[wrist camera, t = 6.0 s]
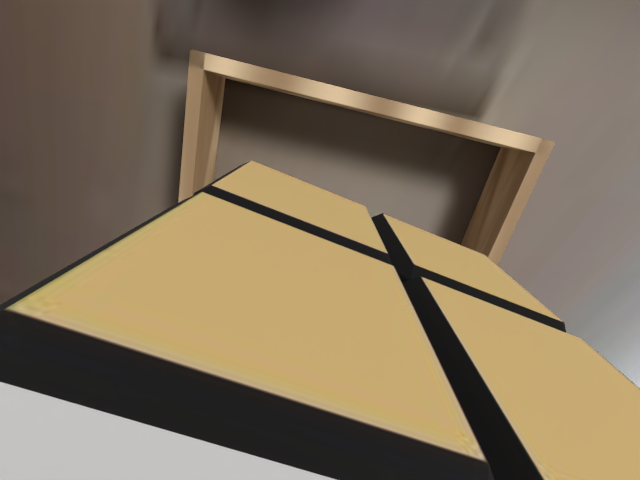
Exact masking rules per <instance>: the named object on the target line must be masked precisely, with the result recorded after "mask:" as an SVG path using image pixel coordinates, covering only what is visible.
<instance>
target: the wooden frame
mask: <svg viewBox="0 0 640 480" xmlns="http://www.w3.org/2000/svg"><path fill="white" fill-rule="evenodd" d="M226 78H227V79H231V80H235V81H239V82H243V83H247V84H251V85H255V86H259V87H263V88H267V89H271V90H275V91H279V92H283V93H287V94H291V95H295V96H299V97H303V98H307V99H311V100H315V101H319V102H323V103H327V104H331V105H335V106H339V107H343V108H347V109H351V110H355V111H359V112H363V113H367V114H371V115H375V116H378V117H382V118H386V119H390V120H394V121H398V122H402V123H406V124H410V125H414V126H418V127H422V128H426V129H430V130H434V131H438V132H442V133H446V134H450V135H454V136H458V137H462V138H466V139H470V140H474V141H478V142H482V143H486V144H490V145H494V146H498V147H501V148H500V151H499V153H498V155H497V158H496V160H495V163H494V165H493V167H492V170H491V172H490V175H489V177H488V179H487V182H486V184H485V187H484V189H483V191H482V194H481V196H480V199H479V201H478V204H477V206H476V208H475V211H474V213H473V216H472V218H471V220H470V223H469V225H468V228H467V230H466V232H465V235H464V237H463V240H462V242H461V244H460V245H462V246H464V247H467V248H469V249H472V250H474V251H477V252H479V253H481V254H484V255H486V256H487V257H488V258H489V259H490V260H491V261H493V262H494V263H495V264H496V265H498V263H499V261H500V258H501V256H502V254H503V252H504V250H505V248H506V246H507V244H508V241H509V239H510V237H511V235H512V233H513V231H514V229H515V227H516V224H517V222H518V220H519V218H520V216H521V214H522V212H523V210H524V207H525V205H526V203H527V201H528V199H529V197H530V195H531V192H532V190H533V188H534V186H535V184H536V182H537V180H538V178H539V175H540V173H541V171H542V169H543V167H544V165H545V163H546V161H547V158H548V156H549V154H550V152H551V150H552V148H553V146H554V144H555V142H554V141H550V140H546V139H542V138H538V137H534V136H530V135H526V134H522V133H518V132H514V131H510V130H506V129H502V128H498V127H494V126H491V125H487V124H483V123H479V122H475V121H471V120H467V119H463V118H459V117H455V116H451V115H447V114H443V113H439V112H435V111H431V110H428V109H424V108H420V107H416V106H412V105H408V104H404V103H400V102H396V101H392V100H388V99H384V98H380V97H376V96H372V95H368V94H365V93H361V92H357V91H353V90H349V89H345V88H341V87H337V86H333V85H329V84H325V83H321V82H317V81H313V80H309V79H305V78H302V77H298V76H294V75H290V74H286V73H282V72H278V71H274V70H270V69H266V68H262V67H258V66H254V65H250V64H246V63H242V62H239V61H235V60H231V59H227V58H223V57H219V56H215V55H211V54H207V53H203V52H199V51H195V50H191V49H190V58H189V71H188V84H187V97H186V109H185V122H184V135H183V148H182V161H181V174H180V187H179V200H178V203H179V202H181V201H182V200H184V199H187V198H189V197H191V196H193V194H194V193H195V192H197V191H198V190H200V189H202V188H203V187H205V186H207V185H208V184H210V183H212V182H214V175H215V167H216V158H217V149H218V141H219V132H220V123H221V114H222V106H223V97H224V88H225V80H226Z"/></svg>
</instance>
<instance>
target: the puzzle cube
mask: <svg viewBox="0 0 640 480" xmlns="http://www.w3.org/2000/svg"><path fill="white" fill-rule="evenodd" d="M0 480H640V388H639V387H637V386H636V385H635V384H634V383H633V382H632V381H630V380H629V379H628V378H627V377H626V376H625V375H623V374H622V373H621V372H620V371H619V370H618V369H616V368H615V367H614V366H613V365H612V364H611V363H609V362H608V361H607V360H606V359H605V358H604V357H603V356H601V355H600V354H599V353H598V352H597V351H596V350H594V349H593V348H592V347H591V346H590V345H589V344H587V343H586V342H585V341H584V340H583V339H581V338H578V337H575V336H573V335H570V334H568V333H566V330H565V324H564V322H563V321H562V320H561V319H559V318H558V317H557V316H556V315H555V314H554V313H552V312H551V311H550V310H549V309H548V308H547V307H545V306H544V305H543V304H542V303H541V302H540V301H538V300H537V299H536V298H535V297H534V296H533V295H531V294H530V293H529V292H528V291H527V290H525V289H524V288H523V287H522V286H521V285H520V284H518V283H517V282H516V281H515V280H514V279H513V278H511V277H510V276H509V275H508V274H507V273H506V272H504V271H503V270H502V269H501V268H500V267H498V266H497V265H496V264H495V263H494V262H493V261H491V260H490V259H489V258H488V257H487V256H486V255H484V254H481V253H479V252H477V251H474V250H472V249H469V248H467V247H464V246H462V245H459V244H457V243H454V242H452V241H449V240H447V239H444V238H442V237H439V236H437V235H434V234H432V233H430V232H427V231H425V230H422V229H420V228H417V227H415V226H412V225H410V224H407V223H405V222H402V221H400V220H397V219H395V218H392V217H390V216H387V215H385V214H383V213H382V214H380V215H377V216H375V217H372V218H371V217H370V214H369V212H368V210H367V208H366V206H363V205H361V204H358V203H356V202H353V201H351V200H348V199H346V198H343V197H341V196H338V195H336V194H333V193H331V192H328V191H326V190H324V189H321V188H319V187H316V186H314V185H311V184H309V183H306V182H304V181H301V180H299V179H296V178H294V177H291V176H289V175H286V174H284V173H281V172H279V171H277V170H274V169H272V168H269V167H267V166H264V165H262V164H259V163H257V162H254V161H250V162H247V163H245V164H243V165H241V166H239V167H237V168H236V169H234V170H232V171H230V172H229V173H227V174H225V175H224V176H222V177H220V178H219V179H217V180H215V181H214V182H212V183H210V184H208V185H207V186H205V187H203V188H202V189H200V190H198V191H197V192H195V193H194V194H193V196H191V197H189V198H187V199H184V200H182V201H181V202H179V203H177V204H175V205H174V206H172V207H170V208H168V209H167V210H165V211H163V212H161V213H160V214H158V215H156V216H154V217H153V218H151V219H149V220H148V221H146V222H144V223H142V224H141V225H139V226H137V227H135V228H134V229H132V230H130V231H128V232H127V233H125V234H123V235H121V236H120V237H118V238H116V239H114V240H113V241H111V242H109V243H107V244H106V245H104V246H102V247H100V248H99V249H97V250H95V251H93V252H92V253H90V254H88V255H86V256H85V257H83V258H81V259H79V260H78V261H76V262H74V263H72V264H71V265H69V266H67V267H66V268H64V269H62V270H60V271H59V272H57V273H55V274H53V275H52V276H50V277H48V278H46V279H45V280H43V281H41V282H39V283H38V284H36V285H34V286H32V287H31V288H29V289H27V290H25V291H24V292H22V293H20V294H18V295H17V296H15V297H13V298H11V299H10V300H8V301H6V302H4V303H3V304H1V305H0Z"/></svg>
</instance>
